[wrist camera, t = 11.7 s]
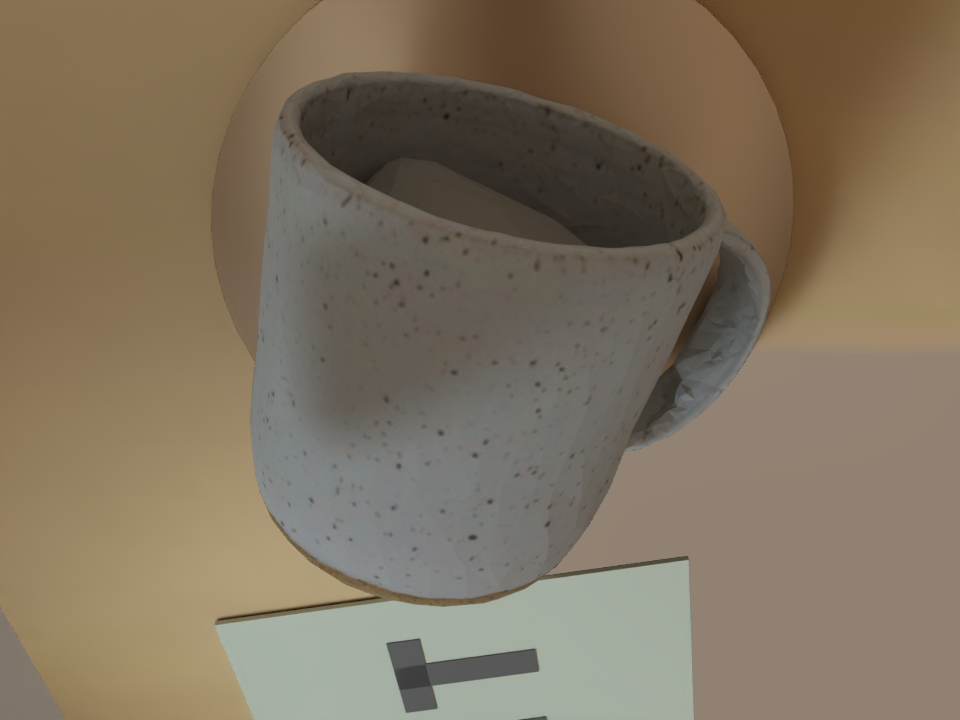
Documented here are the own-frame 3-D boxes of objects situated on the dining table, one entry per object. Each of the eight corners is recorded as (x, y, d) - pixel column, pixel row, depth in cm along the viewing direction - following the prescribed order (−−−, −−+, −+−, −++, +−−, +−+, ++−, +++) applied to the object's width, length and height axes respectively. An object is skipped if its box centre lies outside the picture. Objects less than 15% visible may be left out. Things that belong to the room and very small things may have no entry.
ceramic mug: (270, 388, 21) (204, 636, 15) (306, 42, 17) (238, 168, 11) (682, 446, 23) (788, 691, 16) (802, 141, 19) (1007, 304, 12)
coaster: (297, 500, 24) (294, 514, 23) (134, -9, 17) (125, -4, 17) (777, 431, 24) (785, 445, 23) (795, -118, 17) (806, -116, 16)
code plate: (306, 836, 32) (305, 841, 32) (215, 621, 26) (214, 626, 26) (695, 786, 31) (696, 791, 31) (687, 555, 26) (689, 560, 25)
